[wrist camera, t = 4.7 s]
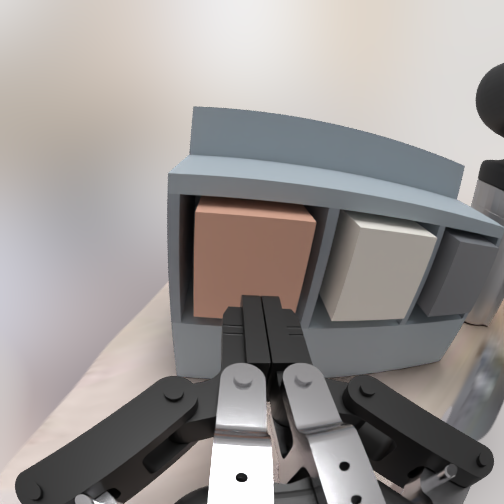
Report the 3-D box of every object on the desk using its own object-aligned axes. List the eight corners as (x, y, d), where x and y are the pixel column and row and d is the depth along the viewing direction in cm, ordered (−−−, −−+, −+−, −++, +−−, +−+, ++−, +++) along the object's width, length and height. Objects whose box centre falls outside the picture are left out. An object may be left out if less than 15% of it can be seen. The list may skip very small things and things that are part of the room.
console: (439, 360, 22) (516, 187, 14) (177, 376, 19) (173, 99, 11) (403, 308, 30) (452, 161, 22) (189, 304, 27) (197, 107, 19)
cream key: (404, 318, 16) (437, 237, 14) (331, 321, 16) (360, 227, 13) (375, 279, 21) (397, 209, 18) (311, 277, 20) (329, 198, 18)
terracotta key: (293, 321, 16) (316, 222, 13) (193, 316, 15) (195, 212, 12) (279, 275, 20) (294, 193, 17) (201, 270, 19) (205, 185, 17)
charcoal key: (470, 312, 17) (499, 248, 15) (427, 316, 17) (460, 241, 14) (440, 281, 22) (462, 223, 19) (398, 280, 21) (420, 213, 18)
